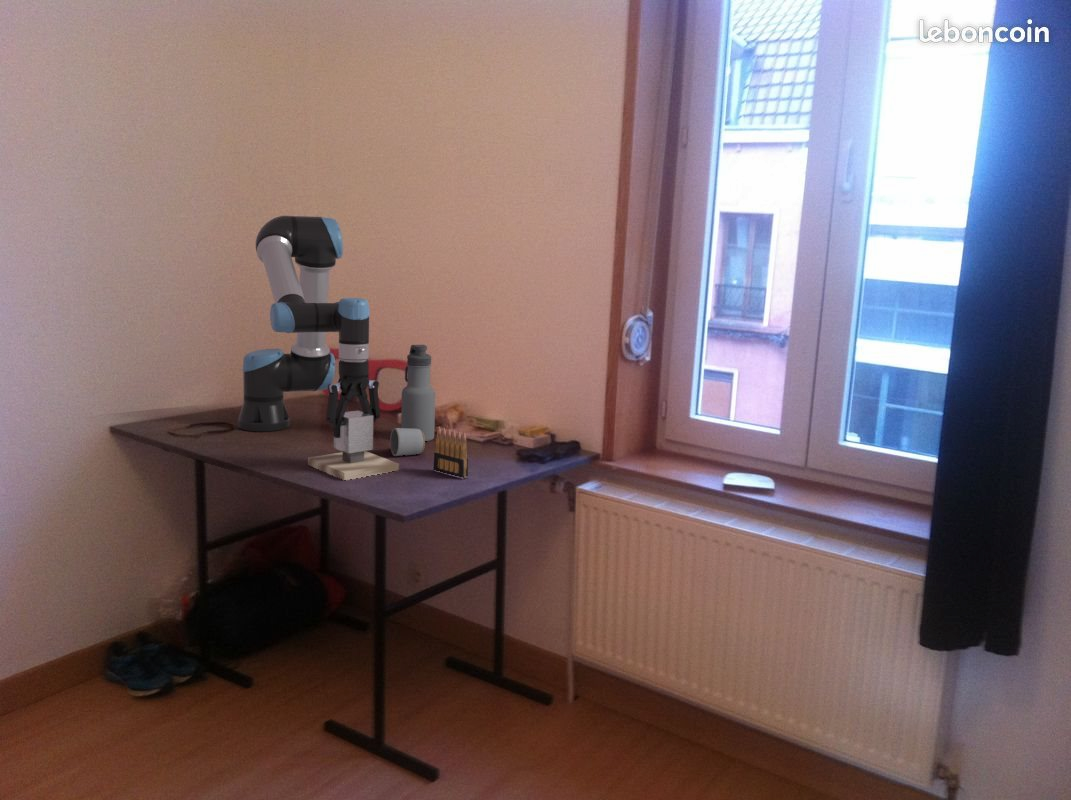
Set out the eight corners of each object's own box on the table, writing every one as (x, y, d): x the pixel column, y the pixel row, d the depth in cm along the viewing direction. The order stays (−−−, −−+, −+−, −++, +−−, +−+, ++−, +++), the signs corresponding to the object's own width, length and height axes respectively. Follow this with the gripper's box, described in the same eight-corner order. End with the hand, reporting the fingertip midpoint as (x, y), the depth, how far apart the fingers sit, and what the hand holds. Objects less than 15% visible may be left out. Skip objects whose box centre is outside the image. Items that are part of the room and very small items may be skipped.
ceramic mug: (426, 456, 251) (426, 429, 250) (397, 459, 248) (398, 431, 246) (413, 448, 261) (413, 422, 259) (385, 450, 257) (385, 423, 256)
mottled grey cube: (333, 447, 236) (333, 413, 234) (358, 444, 241) (358, 410, 239) (348, 453, 231) (348, 418, 229) (372, 449, 235) (373, 415, 234)
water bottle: (397, 435, 275) (398, 343, 269) (429, 434, 278) (431, 342, 273) (405, 443, 265) (406, 347, 260) (437, 442, 269) (440, 347, 263)
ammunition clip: (433, 471, 237) (434, 426, 235) (438, 470, 238) (439, 425, 236) (463, 479, 230) (464, 433, 228) (468, 478, 232) (469, 432, 230)
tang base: (308, 464, 238) (307, 435, 236) (361, 456, 248) (361, 427, 247) (344, 480, 225) (344, 449, 223) (398, 471, 235) (399, 441, 234)
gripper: (326, 364, 222) (326, 456, 226) (395, 359, 235) (394, 445, 239) (310, 360, 227) (311, 450, 231) (379, 355, 241) (378, 440, 245)
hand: (353, 447), depth 235 cm, fingers closed on mottled grey cube, 7 cm apart
